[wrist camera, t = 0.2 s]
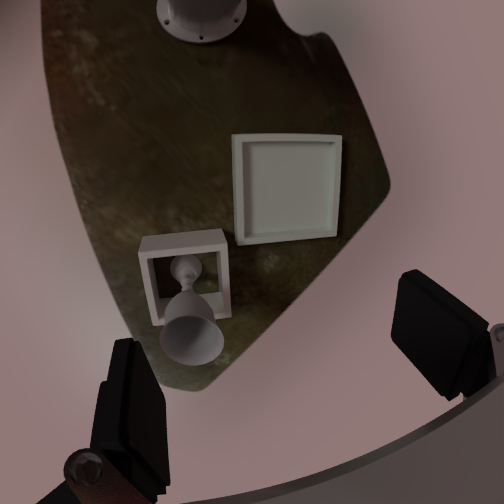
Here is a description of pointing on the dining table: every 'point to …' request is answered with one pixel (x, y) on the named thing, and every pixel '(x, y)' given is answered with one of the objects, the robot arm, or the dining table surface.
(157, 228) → the dining table surface
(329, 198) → the tray
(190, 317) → the chalice
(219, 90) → the dining table surface
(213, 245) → the sleeve
